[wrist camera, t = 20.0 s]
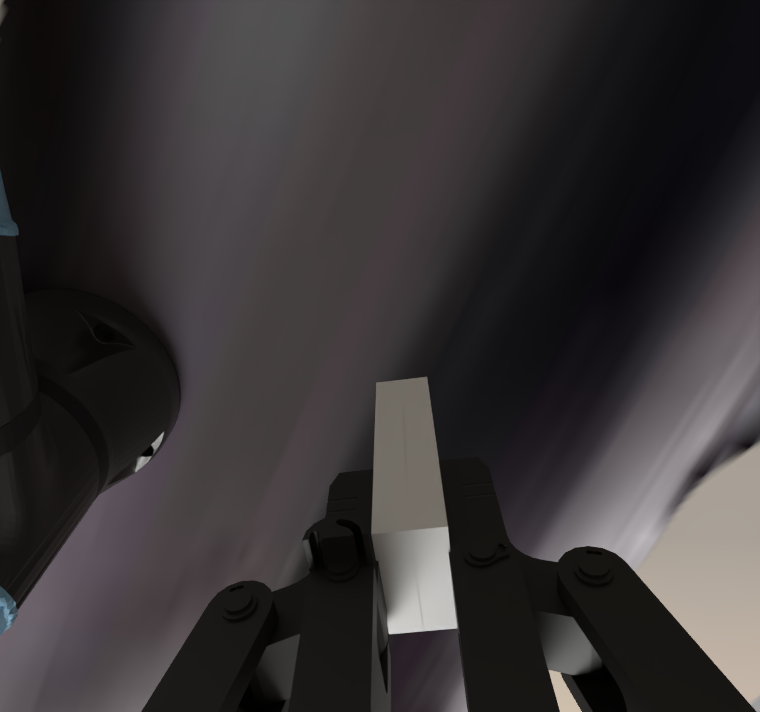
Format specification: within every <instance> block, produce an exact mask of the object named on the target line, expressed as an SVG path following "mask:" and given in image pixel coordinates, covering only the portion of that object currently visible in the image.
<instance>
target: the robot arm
mask: <svg viewBox="0 0 760 712" xmlns="http://www.w3.org/2000/svg"><path fill="white" fill-rule="evenodd" d="M17 235H19V232H18V227H17V224H16V223H15V222H14V221H13V220H12V218H11V214H10V210H9V206H8V202H7V198H6V194H5V190H4V185H3V180H2V175H1V171H0V635H1V634H2V633H3V632H4V631H5V630H7V629H8V628H9V627H10V626H11V625H12V624H13V622H14V620H15V619H16V617H17V616H18V615H17V614H16V613H17V612H18V609H19V608H20V606H21V605H22V603H23V602H24V601H25V599H26V598H27V596H28V595H29V593H30V592H31V591H32V589H33V588H34V586H35V585H36V583H37V582H38V581H39V579H40V578H41V576H42V575H43V573H44V572H45V571H46V569H47V568H48V566H49V565H50V563H51V562H52V561H53V559H54V558H55V556H56V555H57V553H58V552H59V551H60V549H61V548H62V546H63V545H64V543H65V542H66V541H67V539H68V538H69V536H70V535H71V533H72V532H73V531H74V529H75V528H76V526H77V525H78V523H79V522H80V521H81V519H82V518H83V516H84V515H85V513H86V512H87V511H88V509H89V508H90V506H91V505H92V503H93V502H94V500H95V499H96V498H97V496H98V495H99V494H101V493H102V492H104V491H106V490H107V489H109V488H111V487H112V486H114V485H115V484H117V483H119V482H120V481H122V480H124V479H125V478H127V477H129V476H130V475H132V474H134V473H135V472H137V471H138V470H140V469H141V468H142V467H144V466H145V465H146V464H147V463H148V462H149V461H150V460H152V459H153V458H154V456H155V455H156V454H157V453H158V452H159V450H160V449H161V447H162V446H163V444H164V443H165V441H166V439H167V438H168V436H169V435H170V433H171V431H172V429H173V427H174V425H175V422H176V420H177V416H178V412H179V405H180V391H179V384H178V379H177V375H176V372H175V369H174V366H173V364H172V362H171V359H170V357H169V356H168V354H167V352H166V350H165V349H164V347H163V346H162V344H161V343H160V341H159V340H158V339H157V338H156V336H155V335H154V334H153V333H152V332H151V331H150V330H149V329H148V328H147V327H146V326H145V325H144V324H143V323H142V322H141V321H140V320H138V319H137V318H136V317H135V316H133V315H132V314H130V313H129V312H128V311H126V310H124V309H123V308H121V307H119V306H118V305H116V304H114V303H112V302H110V301H108V300H105V299H103V298H100V297H98V296H95V295H92V294H88V293H84V292H79V291H74V290H65V289H48V290H39V291H34V292H30V293H26V294H24V292H23V286H22V279H21V272H20V265H19V258H18V251H17V244H16V238H15V236H17ZM302 541H303V546H304V550H305V554H306V558H307V562H308V567H309V571H310V573H309V574H308V575H307V576H306V577H305V578H303V579H302V580H300V581H299V582H297V583H294V584H292V585H290V586H287V587H285V588H282V589H279V590H276V591H273V592H271V589H269V588H268V587H267V586H266V585H265V584H264V583H261V582H257V581H241V582H238V583H235V584H233V585H230V586H228V587H226V588H225V589H223V590H222V591H220V592H219V593H218V594H217V595H216V596H215V597H214V598H213V599H212V600H211V602H210V603H209V604H208V606H207V608H206V609H205V611H204V612H203V614H202V616H201V617H200V619H199V620H198V622H197V624H196V625H195V627H194V628H193V630H192V632H191V633H190V635H189V636H188V638H187V640H186V641H185V643H184V644H183V646H182V648H181V649H180V651H179V652H178V654H177V656H176V657H175V659H174V660H173V662H172V664H171V665H170V667H169V668H168V670H167V672H166V673H165V675H164V676H163V678H162V680H161V681H160V683H159V684H158V686H157V688H156V689H155V691H154V692H153V694H152V696H151V697H150V699H149V700H148V702H147V704H146V705H145V707H144V708H143V710H142V712H391V660H390V652H389V646H388V641H387V625H388V631H389V634H398V633H409V632H420V631H431V630H442V629H454V628H458V636H459V645H460V654H461V663H462V672H463V677H464V685H465V693H466V701H467V709H468V712H560V711H559V707H558V703H557V700H556V696H555V693H554V689H553V685H552V682H551V678H550V674H549V671H548V670H553V671H557V672H561V675H562V678H563V680H564V681H565V683H566V685H567V687H568V688H569V690H570V692H571V693H572V695H573V697H574V699H575V700H576V702H577V704H578V706H579V707H580V709H581V711H582V712H756V711H755V710H754V708H753V707H752V706H751V705H750V704H749V703H748V702H747V700H746V699H745V698H744V697H743V696H742V695H741V694H740V692H739V691H738V690H737V689H736V688H735V687H734V685H733V684H732V683H731V682H730V681H729V680H728V679H727V677H726V676H725V675H724V674H723V673H722V672H721V671H720V670H719V669H718V667H717V666H716V665H715V664H714V663H713V661H712V660H711V659H710V658H709V657H708V656H707V655H706V653H705V652H704V651H703V650H702V649H701V648H700V646H699V645H698V644H697V643H696V642H695V641H694V640H693V639H692V638H691V636H690V635H689V634H688V633H687V632H686V630H685V629H684V628H683V627H682V626H681V625H680V624H679V622H678V621H677V620H676V619H675V618H674V617H673V616H672V614H671V613H670V612H669V611H668V610H667V609H666V608H665V607H664V605H663V604H662V603H661V602H660V601H659V599H658V598H657V597H656V596H655V595H654V594H653V593H652V592H651V590H650V589H649V588H648V587H647V586H646V585H645V584H644V583H643V581H642V580H641V579H640V578H639V577H638V575H637V574H636V573H635V572H634V571H633V570H632V569H631V567H630V566H629V565H628V564H627V563H626V562H625V561H624V560H623V559H622V558H620V557H619V556H618V555H617V554H615V553H613V552H610V551H608V550H606V549H603V548H598V547H591V546H586V547H578V548H574V549H572V550H570V551H568V552H566V553H564V555H563V556H562V557H561V558H560V560H559V561H558V562H552V561H545V560H540V559H536V558H532V557H530V556H528V555H525V554H523V553H522V552H520V551H519V550H517V549H516V548H515V547H514V546H513V545H512V544H511V543H510V541H509V539H508V536H507V533H506V530H505V526H504V522H503V518H502V515H501V511H500V507H499V504H498V500H497V496H496V492H495V489H494V485H493V481H492V478H491V474H490V470H489V468H488V467H487V466H486V465H485V464H484V463H483V462H482V461H481V460H480V459H479V458H478V457H471V458H462V459H452V460H443V461H439V460H438V453H437V445H436V438H435V431H434V424H433V417H432V410H431V403H430V395H429V388H428V381H427V377H422V378H413V379H405V380H396V381H388V382H379V383H376V411H375V441H374V469H372V470H362V471H353V472H344V473H339V474H338V476H337V477H336V479H335V480H334V481H333V483H332V484H331V485H330V489H329V496H328V503H327V510H326V517H325V518H324V519H322V520H320V521H319V522H317V523H315V524H313V525H312V526H311V527H310V528H309V529H308V530H307V531H306V533H305V535H304V537H303V540H302Z"/></svg>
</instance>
